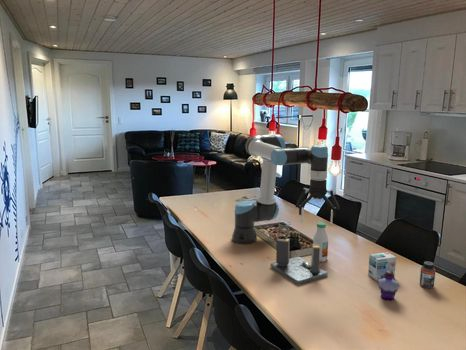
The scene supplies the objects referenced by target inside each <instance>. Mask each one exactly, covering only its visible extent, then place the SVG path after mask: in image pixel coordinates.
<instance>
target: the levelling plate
mask: <svg viewBox="0 0 466 350" xmlns="http://www.w3.org/2000/svg"><path fill="white" fill-rule="evenodd" d="M271 267H272V270H274V269H275V270H274V271H276V272H277V271H278V272H277V273H278V274H280V273H281V275H282V276H284V277H285V278H286V277H287V278H286V279H288V280H289V279H290V280H289V281H291V282H292V281H293V283H294V282H295V283H294V284H295V285H297V284H298V285H297V286H300V285H303V284H306V283H309V282H313V281H316V280H319V279H323V278H326V277H328V271H325V270H324V269H322V268H320V267H319V269H320V273H311V272H310V268H312V267H311V262H310V261H308V260H307V259H304V258H302V257H300V256H296V257H291V258H290V257H289V264H288V265H287V266H285V267H281V266H279V265H278V263H276V261H275V262H272V263H270V268H271ZM299 284H300V285H299Z"/></svg>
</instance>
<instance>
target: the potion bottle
mask: <svg viewBox="0 0 466 350" xmlns="http://www.w3.org/2000/svg"><path fill="white" fill-rule="evenodd" d="M394 279H395V276H394V274H393V272H392V271H389V270H388V271H386V273H384V278H383V279H379V280H378V284H379V285H378V287H379V290H380V299H383V300H384V301H388V302H389V301H390V302H392V301H394V300H395V296H396V294H397V292H398V290H399V287H400V284H399V282H398V281H396V280H394Z"/></svg>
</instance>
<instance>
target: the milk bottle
mask: <svg viewBox="0 0 466 350" xmlns="http://www.w3.org/2000/svg"><path fill="white" fill-rule="evenodd" d="M326 228H327V224H326V223H325V222H317V223H316V231H315V233H314V234H313V235H314V236H313V240H312V241H313V243H312V244H318V245H319V247H320V252H319V263H324V262H326V261H328V256H329V255H328V254H329V253H328V252H329V251H328V250H329V237H328V234H327V232H326Z"/></svg>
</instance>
